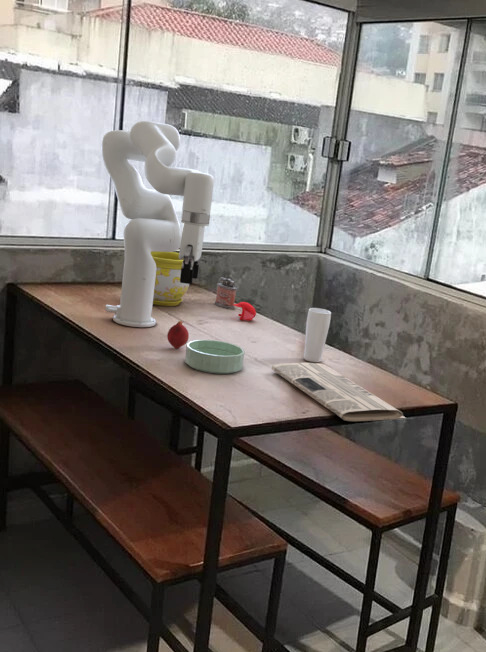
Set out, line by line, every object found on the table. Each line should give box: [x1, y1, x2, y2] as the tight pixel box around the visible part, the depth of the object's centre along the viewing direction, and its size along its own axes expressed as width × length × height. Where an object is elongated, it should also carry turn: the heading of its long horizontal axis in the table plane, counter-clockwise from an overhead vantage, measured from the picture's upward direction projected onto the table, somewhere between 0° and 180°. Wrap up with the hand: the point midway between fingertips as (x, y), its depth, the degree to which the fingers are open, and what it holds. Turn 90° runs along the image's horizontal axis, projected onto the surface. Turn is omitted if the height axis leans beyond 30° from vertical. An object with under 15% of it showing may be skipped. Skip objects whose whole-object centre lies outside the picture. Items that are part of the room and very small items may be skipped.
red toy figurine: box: [234, 301, 257, 322], centre depth 273 cm, size 8×6×6 cm
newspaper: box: [271, 362, 407, 422], centre depth 208 cm, size 37×19×3 cm, turn 31°
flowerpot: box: [151, 251, 190, 307], centre depth 278 cm, size 18×18×16 cm
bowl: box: [184, 339, 246, 375], centre depth 215 cm, size 15×15×5 cm
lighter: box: [214, 276, 238, 310], centre depth 288 cm, size 8×3×10 cm, turn 58°
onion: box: [166, 320, 190, 350], centre depth 225 cm, size 6×6×8 cm
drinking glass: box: [303, 307, 332, 363], centre depth 236 cm, size 7×7×15 cm
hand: (188, 280), depth 223 cm, fingers open, 9 cm apart
